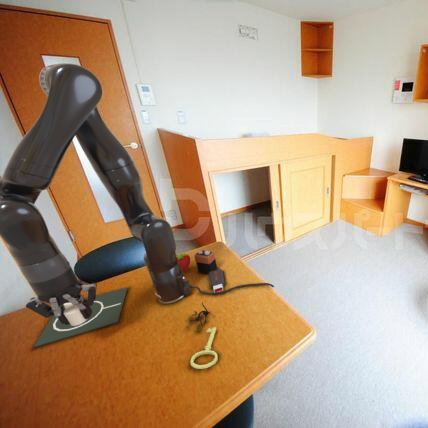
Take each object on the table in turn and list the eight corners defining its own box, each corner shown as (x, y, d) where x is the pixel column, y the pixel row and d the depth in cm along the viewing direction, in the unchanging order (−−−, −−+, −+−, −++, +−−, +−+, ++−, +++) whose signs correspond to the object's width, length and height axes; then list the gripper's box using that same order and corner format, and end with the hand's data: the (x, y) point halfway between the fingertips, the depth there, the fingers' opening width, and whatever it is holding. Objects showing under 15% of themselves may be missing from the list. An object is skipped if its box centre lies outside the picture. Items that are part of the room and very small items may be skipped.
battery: (211, 274, 102) (207, 255, 98) (198, 272, 103) (193, 253, 99) (217, 268, 106) (214, 249, 101) (204, 266, 107) (199, 247, 103)
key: (217, 329, 78) (216, 325, 77) (218, 364, 67) (217, 360, 66) (192, 337, 75) (191, 332, 74) (190, 374, 65) (188, 370, 64)
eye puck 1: (84, 305, 85) (79, 295, 83) (81, 312, 82) (75, 303, 80) (71, 308, 84) (65, 299, 82) (67, 316, 81) (61, 306, 79)
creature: (194, 338, 76) (216, 320, 80) (186, 329, 73) (210, 310, 77) (184, 324, 81) (206, 307, 85) (177, 315, 78) (200, 298, 82)
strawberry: (173, 276, 100) (167, 257, 96) (183, 265, 107) (177, 246, 103) (186, 277, 100) (181, 257, 96) (196, 265, 107) (191, 247, 103)
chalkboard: (128, 288, 94) (127, 287, 93) (117, 322, 79) (117, 321, 79) (59, 306, 85) (58, 304, 85) (34, 348, 71) (33, 346, 71)
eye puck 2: (89, 313, 69) (83, 302, 67) (85, 322, 66) (78, 311, 65) (73, 318, 68) (66, 306, 66) (68, 327, 65) (60, 316, 63)
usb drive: (222, 272, 103) (221, 267, 102) (226, 290, 94) (224, 284, 93) (209, 275, 101) (208, 270, 100) (211, 294, 92) (210, 288, 90)
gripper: (-2, 290, 53) (38, 341, 61) (80, 271, 59) (107, 319, 67) (16, 271, 59) (50, 319, 67) (89, 255, 65) (113, 301, 73)
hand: (79, 319), depth 67 cm, fingers closed on eye puck 2, 3 cm apart
